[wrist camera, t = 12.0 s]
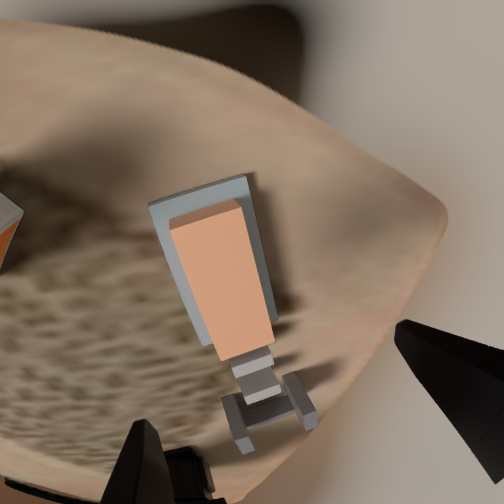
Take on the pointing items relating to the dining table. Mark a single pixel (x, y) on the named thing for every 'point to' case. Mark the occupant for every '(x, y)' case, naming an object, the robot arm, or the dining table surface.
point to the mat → (197, 200)
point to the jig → (260, 387)
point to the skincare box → (8, 223)
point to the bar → (223, 277)
